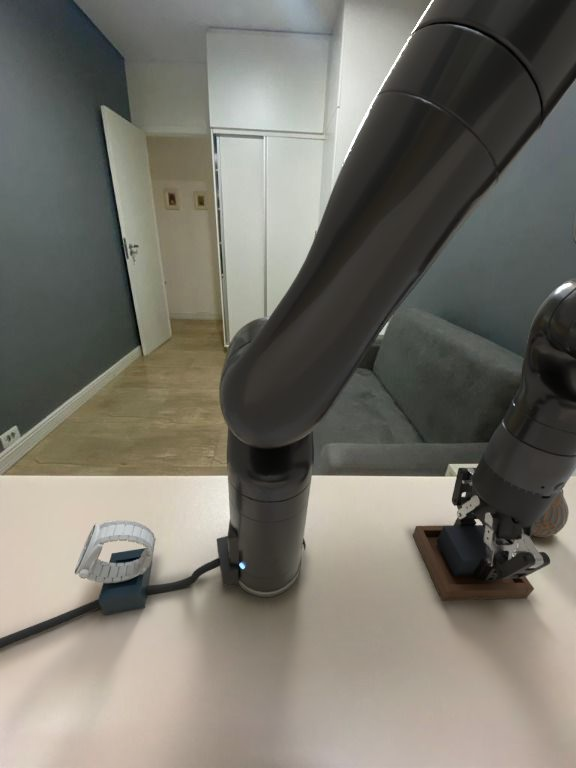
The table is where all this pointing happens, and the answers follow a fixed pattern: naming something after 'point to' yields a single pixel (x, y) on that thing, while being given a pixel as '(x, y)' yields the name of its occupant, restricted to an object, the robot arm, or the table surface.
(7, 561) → the table surface
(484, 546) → the dark blue rectangular block
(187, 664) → the table surface
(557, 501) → the vase
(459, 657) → the table surface
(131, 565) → the watch
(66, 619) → the robot arm
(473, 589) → the brown tray
